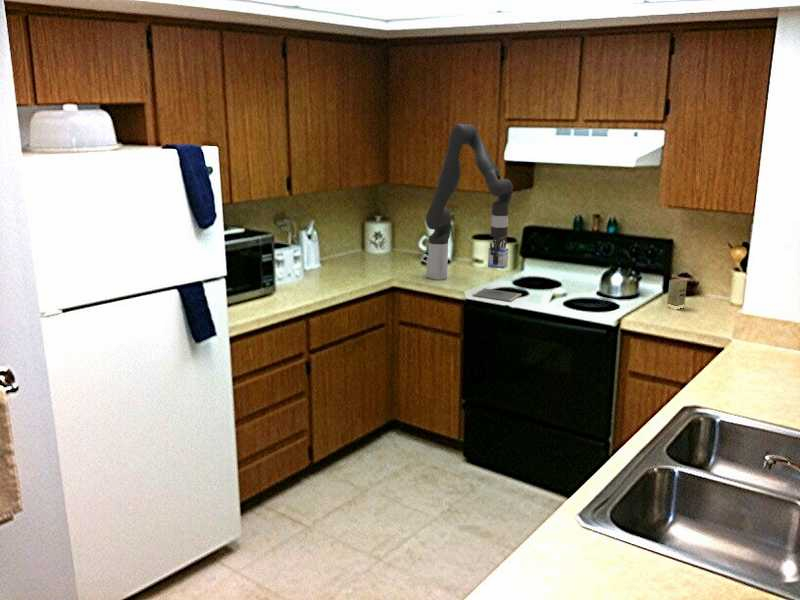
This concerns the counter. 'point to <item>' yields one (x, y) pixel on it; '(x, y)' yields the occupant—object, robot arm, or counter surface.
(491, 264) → the medicine box
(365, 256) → the counter surface
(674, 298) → the shoe polish box
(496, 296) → the mat
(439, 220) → the robot arm
